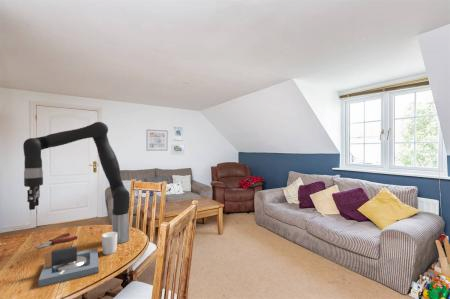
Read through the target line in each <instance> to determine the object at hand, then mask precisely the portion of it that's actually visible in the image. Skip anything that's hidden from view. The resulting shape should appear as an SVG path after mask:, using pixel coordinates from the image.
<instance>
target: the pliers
mask: <svg viewBox="0 0 450 299" xmlns="http://www.w3.org/2000/svg"><path fill="white" fill-rule="evenodd" d="M76 240H78V235H74V236H71V237H70V233H63V234H61V235H58V236H56V237H55V238H53V239H49V240H48V241H46V242H44V243H41V244H39V245H36V246H34V248H36V249H41V248H45V247H49V246H51V245H53V246H54V245H58V244H59V245H60V244H65V243H69V242H73V241H76Z"/></svg>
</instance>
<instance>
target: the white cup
mask: <svg viewBox="0 0 450 299" xmlns="http://www.w3.org/2000/svg"><path fill="white" fill-rule="evenodd" d="M117 235H118V233H117V232H112V231H108V232H104V233H103V234H102V235H101V244H102V246H101V247H102V254H103V255H106V256H108V255H113V254H115V253H116V252H117V247H118V243H117Z"/></svg>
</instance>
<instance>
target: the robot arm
mask: <svg viewBox="0 0 450 299" xmlns="http://www.w3.org/2000/svg"><path fill="white" fill-rule="evenodd" d="M108 132H109V127H108V125H107V124H106V123H104V122H102V121H95V122H94V123H91V124H89V125H87V126H84V127H83V126H82V127H80V128H76V129H69V130H64V131H59V132H54V133H50V134H47V135H44V136H43V135H42V136H40V137H29V138H27V139H26V140H24V142H23V156H24V162H23V164H24V170H23V183H24V184H23V186H24V187H26V188H27V187H29V189H28V190H27V203H28V210H30V211H32V210H35V209H36V207H37V206H38V207H39V205H40V204H39V203H40V200H39V199H40V196H41V190H40V188H41V186H44V171H43V159H42V150H46V149H50V148H56V147H60V146H64V145H67V144H71V143H74V142H77V141H80V140H85V139H91V138H92V139H93V143H94V144H95V147H96V150H97V154H98V158H99V162H100V165H101V167H102V171H103V173H104V175H105V177H106V179H107V181H108V184H109V188H110V192H111V197H112V200H113V204H112V205H113V207H112V212H111V213H112V215H111V216H112V218H111V219H112V222H111V223H112V227H111V228H112V230H111V232H117V233H118V235H117V244H123V243H126V242H129V241H130V225H129V220H130V219H129V217H130V216H129V210H130V202H131V201H130V197H131V196H130V191H129V190H127V188H126V187H125V185H124V183H123V179H122V177H121V175H122V174H121V169H120V164H119V161H118V158H117V155H116V153H115V151H114V150H113V147H112V145H110V141H109V137H108Z"/></svg>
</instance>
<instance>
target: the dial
mask: <svg viewBox="0 0 450 299" xmlns="http://www.w3.org/2000/svg"><path fill="white" fill-rule="evenodd" d="M77 252H78V246H77V245H74V246H69V247H64V248H59V249H53V250H52V249H51V250H47V251H46V250H45V252H44V264H45V268H48V267H52V266H57V272H61V271H62V270H70V269H75V268H79V267H84V266H86V257H83V256H77Z"/></svg>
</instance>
